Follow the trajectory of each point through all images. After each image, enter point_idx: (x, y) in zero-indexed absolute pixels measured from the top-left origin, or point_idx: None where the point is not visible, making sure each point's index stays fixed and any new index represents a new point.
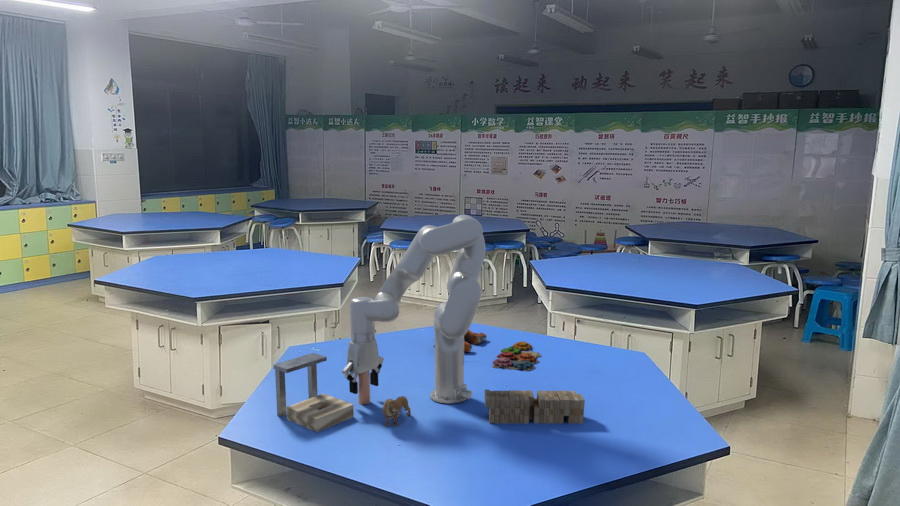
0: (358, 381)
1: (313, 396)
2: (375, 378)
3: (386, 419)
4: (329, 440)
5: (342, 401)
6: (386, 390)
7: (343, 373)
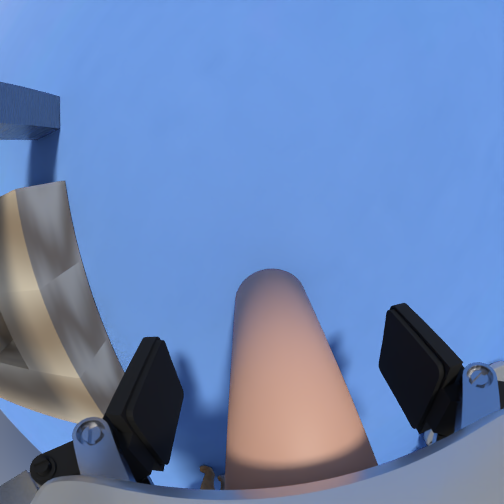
0: (230, 402)
1: (8, 137)
2: (403, 400)
3: (202, 482)
4: (44, 417)
5: (74, 380)
6: (457, 237)
7: (12, 489)
